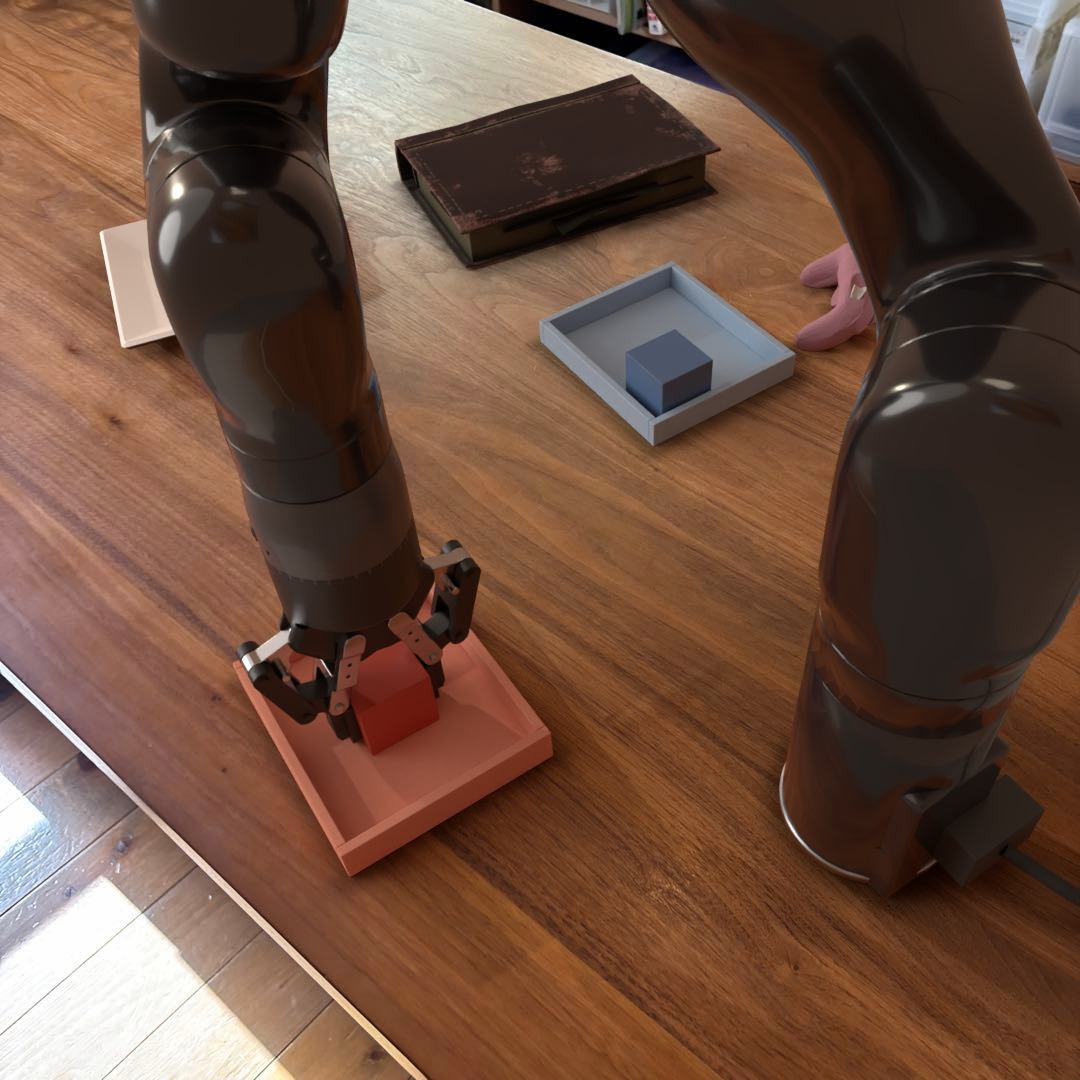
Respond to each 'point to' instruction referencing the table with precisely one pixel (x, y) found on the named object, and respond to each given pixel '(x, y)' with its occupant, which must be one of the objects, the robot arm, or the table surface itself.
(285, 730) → the red tray
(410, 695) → the red block
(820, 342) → the video game controller
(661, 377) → the blue block
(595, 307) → the blue tray
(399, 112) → the table surface
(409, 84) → the table surface
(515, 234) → the diary
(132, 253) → the plate
